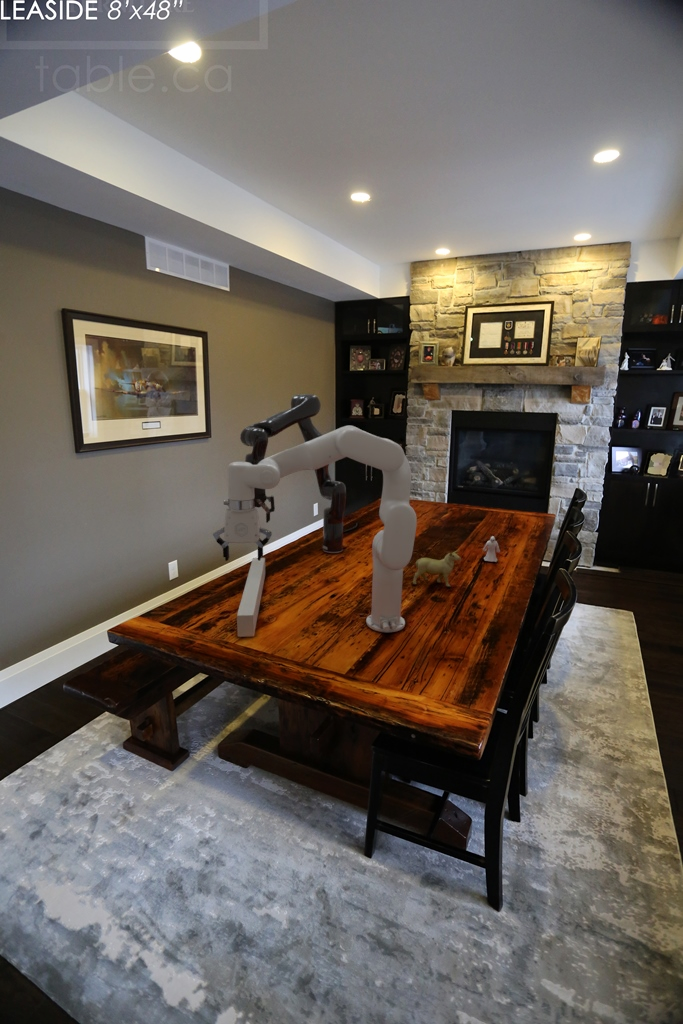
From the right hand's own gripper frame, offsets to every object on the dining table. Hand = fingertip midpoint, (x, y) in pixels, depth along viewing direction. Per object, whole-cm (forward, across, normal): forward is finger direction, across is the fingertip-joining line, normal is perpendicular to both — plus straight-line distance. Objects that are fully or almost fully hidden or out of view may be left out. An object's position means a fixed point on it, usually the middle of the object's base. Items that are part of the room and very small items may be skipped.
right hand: (243, 559), depth 151 cm
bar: (+24, 0, +22) cm, 32 cm away
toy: (+24, +70, +34) cm, 81 cm away
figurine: (+24, +102, +62) cm, 122 cm away
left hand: (0, 0, +43) cm, 43 cm away
